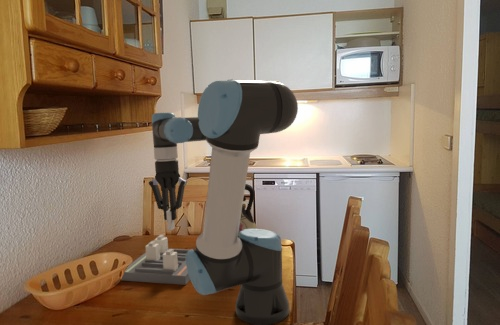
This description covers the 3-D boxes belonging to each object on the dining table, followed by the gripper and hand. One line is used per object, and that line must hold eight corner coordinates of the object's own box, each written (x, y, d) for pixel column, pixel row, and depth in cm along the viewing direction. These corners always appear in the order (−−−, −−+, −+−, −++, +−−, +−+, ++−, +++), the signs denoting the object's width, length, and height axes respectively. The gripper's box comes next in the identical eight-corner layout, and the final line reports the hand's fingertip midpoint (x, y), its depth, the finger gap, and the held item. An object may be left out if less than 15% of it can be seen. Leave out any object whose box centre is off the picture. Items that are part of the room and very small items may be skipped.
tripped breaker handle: (174, 271, 125) (173, 252, 124) (163, 270, 126) (162, 251, 125) (178, 267, 128) (176, 249, 127) (167, 267, 128) (166, 248, 128)
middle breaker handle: (156, 261, 134) (155, 243, 133) (146, 261, 134) (145, 243, 134) (160, 258, 137) (159, 241, 136) (150, 258, 137) (149, 240, 137)
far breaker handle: (164, 254, 140) (163, 237, 140) (155, 254, 141) (154, 237, 140) (168, 251, 143) (167, 234, 142) (158, 251, 144) (157, 234, 143)
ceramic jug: (215, 266, 136) (211, 187, 132) (227, 251, 150) (224, 179, 147) (260, 269, 131) (257, 187, 128) (268, 253, 146) (266, 179, 142)
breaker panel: (185, 284, 122) (185, 273, 121) (120, 280, 127) (119, 269, 126) (207, 259, 143) (206, 249, 142) (150, 256, 148) (150, 246, 148)
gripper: (189, 158, 124) (193, 226, 126) (153, 159, 126) (158, 225, 129) (180, 160, 116) (185, 232, 119) (142, 161, 119) (148, 232, 121)
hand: (171, 229), depth 124 cm, fingers closed
